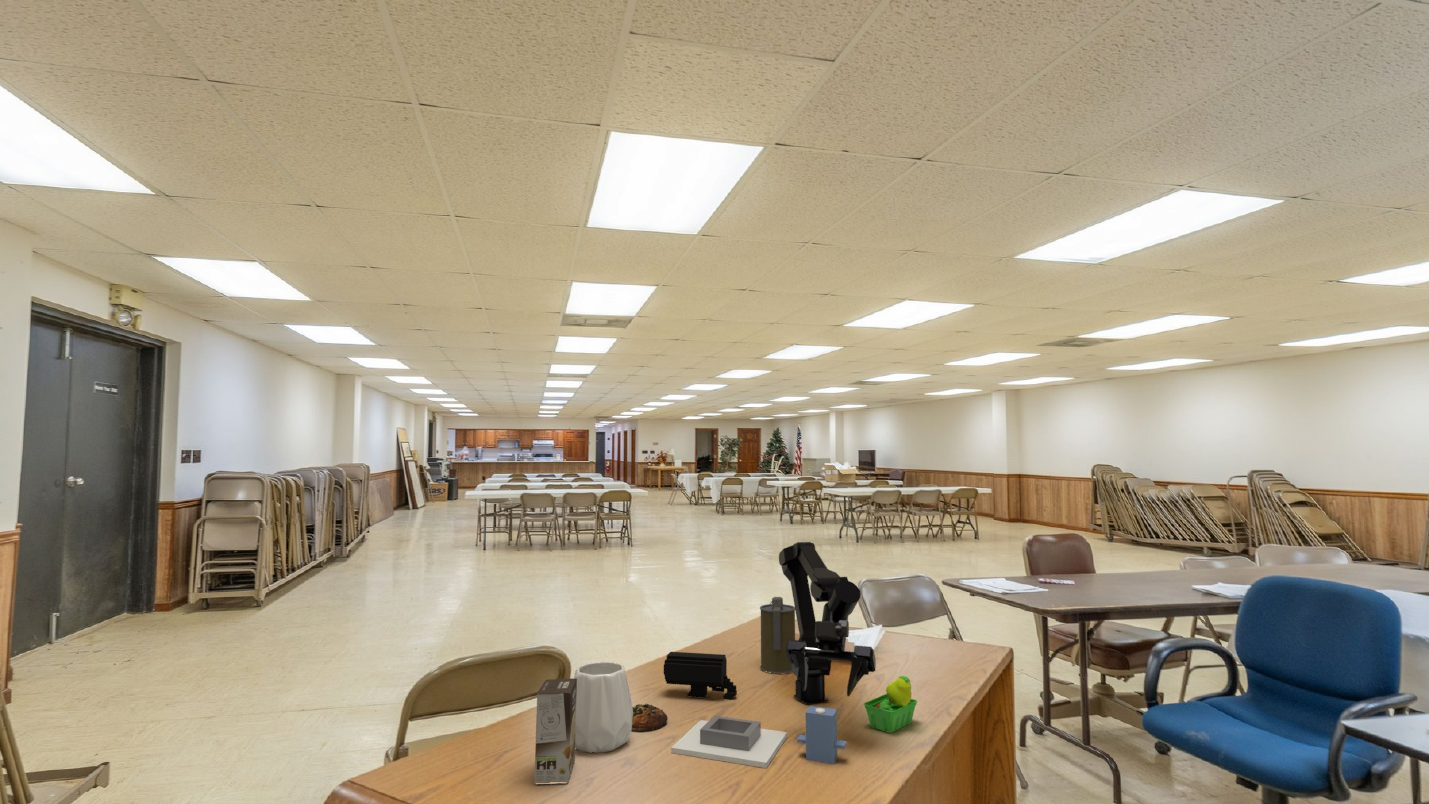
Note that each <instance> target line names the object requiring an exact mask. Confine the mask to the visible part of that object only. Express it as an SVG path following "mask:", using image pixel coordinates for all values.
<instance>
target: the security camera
mask: <svg viewBox="0 0 1429 804" xmlns="http://www.w3.org/2000/svg"><path fill="white" fill-rule="evenodd" d="M727 661H728V660H727V656H726V654H721V653H720V654H717V653H704V652H703V653H700V652H685V651H684V652H682V651H670V652H669V653H668V654H667V655H666V659H665V660H664V663H663V676H664V680H665V682H666V685H679V686H690V690H688V692H687V697H688V698H701V699H706V698H707V697H708V688H709V689H711V692H721V693H724V692H725V690H726V692H725V693H724V694H723V696H722V697H723V700H729V701H733V700H734V698H736V696H737V694H738V691H737V685H734V681H731V678H729V677H728V675H727V673H728V672H727V671H728V669H727V664H728V663H727Z"/></svg>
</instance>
